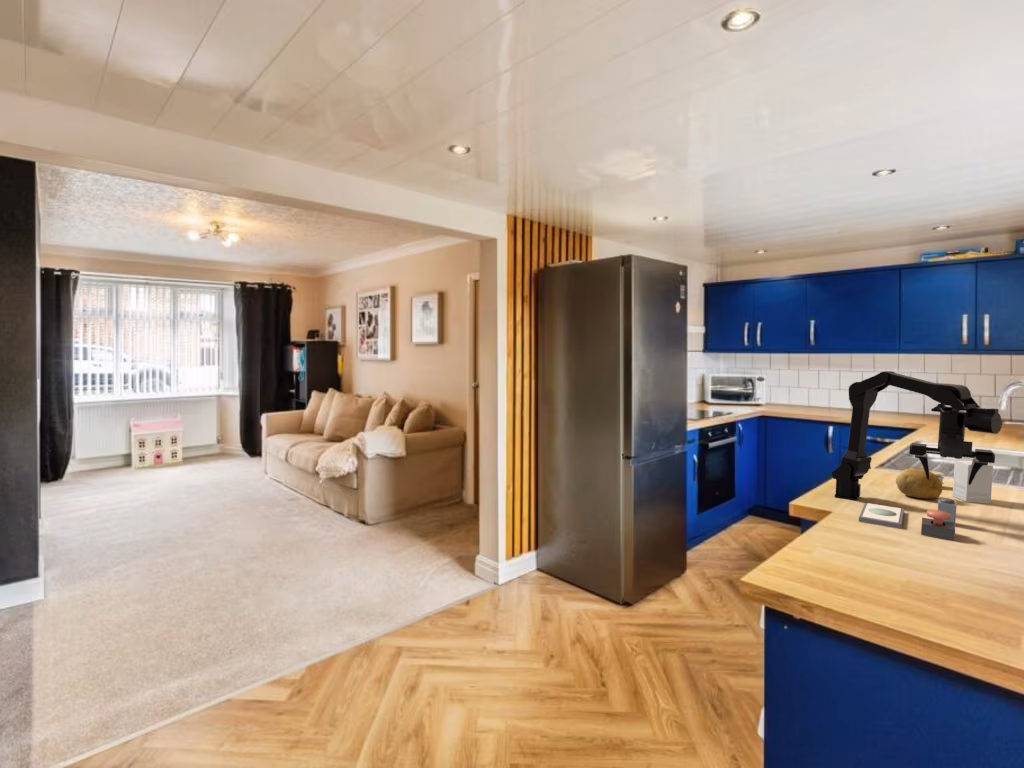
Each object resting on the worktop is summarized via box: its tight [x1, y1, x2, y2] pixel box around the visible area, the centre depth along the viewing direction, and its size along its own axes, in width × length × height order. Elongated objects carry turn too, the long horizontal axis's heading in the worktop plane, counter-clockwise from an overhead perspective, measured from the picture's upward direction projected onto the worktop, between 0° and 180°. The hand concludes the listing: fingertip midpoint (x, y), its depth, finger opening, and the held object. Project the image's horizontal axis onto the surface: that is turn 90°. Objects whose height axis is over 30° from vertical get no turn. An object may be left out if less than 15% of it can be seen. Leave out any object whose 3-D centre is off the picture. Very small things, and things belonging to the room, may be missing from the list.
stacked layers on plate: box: [929, 470, 945, 485], centre depth 192 cm, size 10×9×6 cm
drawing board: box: [858, 502, 905, 529], centre depth 158 cm, size 10×18×2 cm, turn 141°
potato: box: [895, 467, 943, 500], centre depth 178 cm, size 10×12×10 cm
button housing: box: [920, 517, 956, 541], centre depth 144 cm, size 7×7×3 cm
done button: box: [926, 509, 951, 526], centre depth 143 cm, size 5×5×4 cm
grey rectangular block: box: [937, 497, 957, 525], centre depth 152 cm, size 4×4×7 cm
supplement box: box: [952, 460, 994, 504], centre depth 175 cm, size 7×7×13 cm
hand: (948, 481), depth 152 cm, fingers open, 9 cm apart
